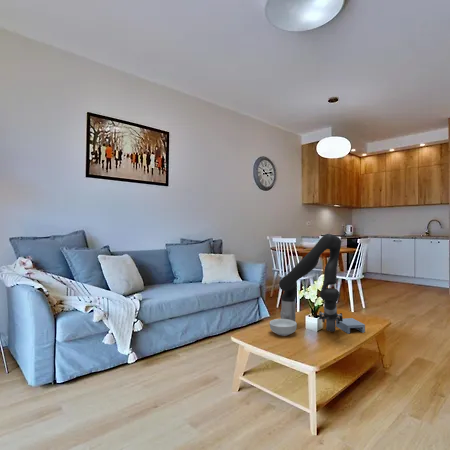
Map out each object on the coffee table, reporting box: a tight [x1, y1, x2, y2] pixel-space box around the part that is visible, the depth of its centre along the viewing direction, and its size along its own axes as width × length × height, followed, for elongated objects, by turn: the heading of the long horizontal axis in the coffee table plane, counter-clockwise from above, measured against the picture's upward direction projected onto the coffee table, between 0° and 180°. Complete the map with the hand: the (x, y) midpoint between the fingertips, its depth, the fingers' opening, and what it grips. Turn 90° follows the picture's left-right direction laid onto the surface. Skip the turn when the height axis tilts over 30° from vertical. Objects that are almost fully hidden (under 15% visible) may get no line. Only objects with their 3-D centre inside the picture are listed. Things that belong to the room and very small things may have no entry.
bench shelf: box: [335, 317, 366, 334], centre depth 200 cm, size 12×14×5 cm
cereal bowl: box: [269, 318, 298, 337], centre depth 193 cm, size 17×17×7 cm
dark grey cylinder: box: [325, 319, 336, 332], centre depth 199 cm, size 6×6×9 cm
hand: (330, 322), depth 200 cm, fingers open, 8 cm apart
